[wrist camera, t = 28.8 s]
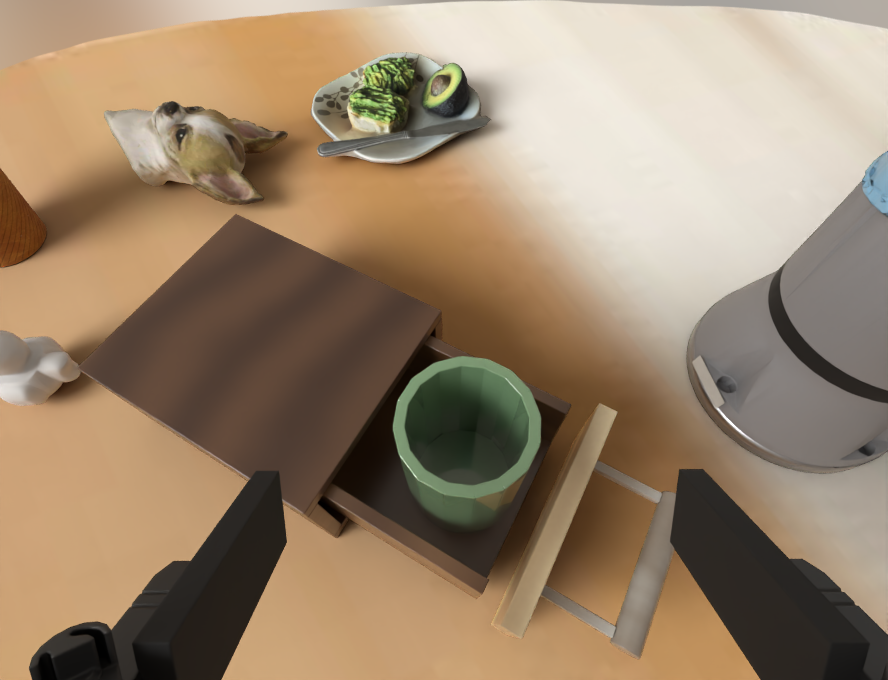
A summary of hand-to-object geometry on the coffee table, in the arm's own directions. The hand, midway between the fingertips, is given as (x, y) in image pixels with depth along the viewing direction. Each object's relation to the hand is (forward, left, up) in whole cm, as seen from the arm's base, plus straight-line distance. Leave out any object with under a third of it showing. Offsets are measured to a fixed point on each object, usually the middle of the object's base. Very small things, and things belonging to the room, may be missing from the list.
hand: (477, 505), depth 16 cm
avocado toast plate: (+28, -37, -19) cm, 51 cm away
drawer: (+1, -4, -18) cm, 19 cm away
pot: (+3, -4, -17) cm, 18 cm away
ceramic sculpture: (+40, -19, -19) cm, 49 cm away
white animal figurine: (+35, +5, -19) cm, 41 cm away
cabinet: (+17, -4, -19) cm, 26 cm away
